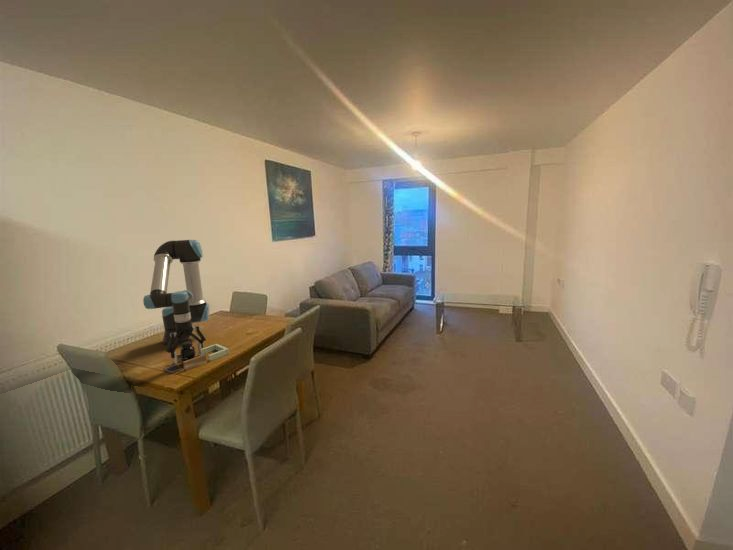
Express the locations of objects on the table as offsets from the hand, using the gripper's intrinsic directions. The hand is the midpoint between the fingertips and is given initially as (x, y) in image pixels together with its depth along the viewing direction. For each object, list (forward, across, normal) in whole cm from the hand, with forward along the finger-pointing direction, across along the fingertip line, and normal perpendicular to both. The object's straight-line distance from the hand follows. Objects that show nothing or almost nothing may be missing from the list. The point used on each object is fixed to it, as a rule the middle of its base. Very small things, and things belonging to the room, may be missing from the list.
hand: (188, 358), depth 165 cm
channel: (+3, 0, 0) cm, 3 cm away
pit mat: (+3, -8, 0) cm, 8 cm away
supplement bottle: (+3, 0, 0) cm, 3 cm away
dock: (+3, +13, 0) cm, 13 cm away
